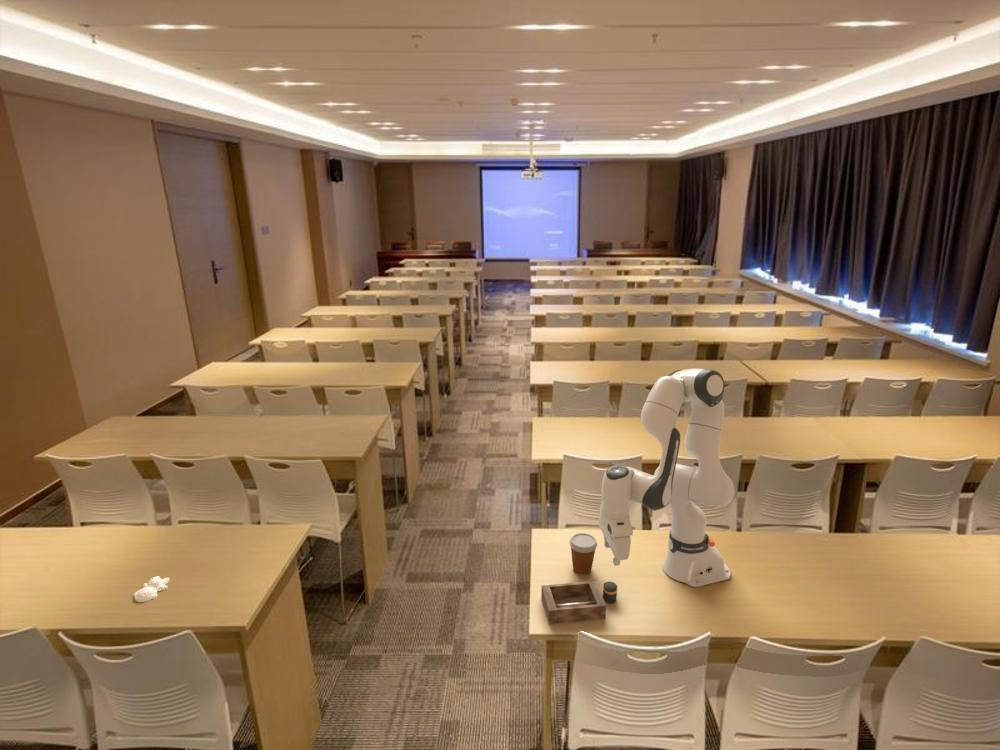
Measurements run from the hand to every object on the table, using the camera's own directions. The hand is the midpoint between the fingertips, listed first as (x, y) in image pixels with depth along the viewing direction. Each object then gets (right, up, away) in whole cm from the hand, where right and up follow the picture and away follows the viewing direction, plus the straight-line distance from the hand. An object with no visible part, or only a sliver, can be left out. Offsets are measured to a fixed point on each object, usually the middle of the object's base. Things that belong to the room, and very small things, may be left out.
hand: (611, 555), depth 192 cm
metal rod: (-12, -15, -2) cm, 20 cm away
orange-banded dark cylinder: (0, -16, +5) cm, 17 cm away
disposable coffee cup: (-7, -11, +20) cm, 24 cm away
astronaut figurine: (-152, -15, +11) cm, 153 cm away
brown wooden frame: (-12, -17, +1) cm, 21 cm away
